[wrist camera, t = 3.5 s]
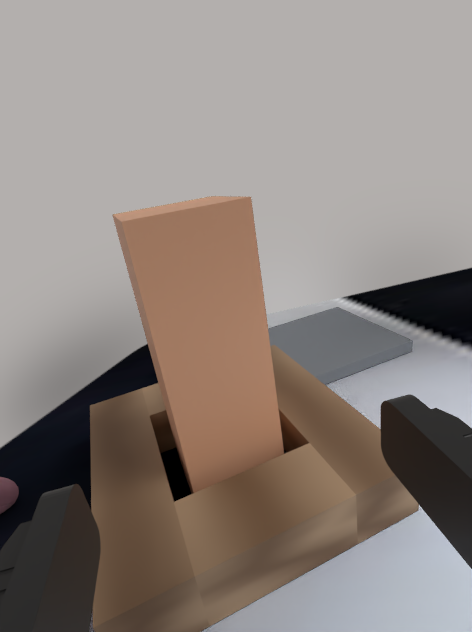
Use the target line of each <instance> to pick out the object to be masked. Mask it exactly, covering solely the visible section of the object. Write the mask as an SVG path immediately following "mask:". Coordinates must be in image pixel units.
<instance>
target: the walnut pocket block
mask: <svg viewBox="0 0 472 632" xmlns="http://www.w3.org/2000/svg"><path fill="white" fill-rule="evenodd" d="M270 348H271V355H272V363H273V371H274V378H275V386H276V394H277V401H278V409H279V417H280V425H281V432H282V440H283V448H284V450H285V451H286V452H287V453H285V454H283V455H281V456H278V457H276V458H274V459H271V460H269V461H267V462H265V463H262V464H260V465H258V466H255V467H253V468H251V469H248V470H246V471H244V472H242V473H239V474H237V475H235V476H232V477H230V478H228V479H225V480H223V481H221V482H219V483H216V484H214V485H212V486H209V487H207V488H205V489H202V490H200V491H198V492H196V493H193V494H191V495H189V496H186V497H184V498H182V499H179V500H177V501H175V502H174V499H173V495H172V492H171V488H170V485H169V481H168V478H167V474H166V471H165V467H164V464H163V460H162V457H161V453H163V452H165V451H168V450H171V449H173V448H176V445H175V441H174V437H173V434H172V430H171V426H170V423H169V419H168V415H167V412H166V408H165V404H164V401H163V397H162V393H161V390H160V386H159V383H157V384H154V385H151V386H148V387H145V388H142V389H139V390H136V391H133V392H130V393H127V394H124V395H121V396H118V397H115V398H112V399H109V400H106V401H103V402H100V403H96V404H93V405H90V443H91V512H92V514H93V516H94V519H95V521H96V523H97V526H98V529H99V533H100V541H101V553H100V561H99V567H98V574H97V581H96V587H95V594H94V601H93V629H94V631H95V632H201V631H202V630H204V629H206V628H208V627H210V626H211V625H213V624H215V623H217V622H219V621H220V620H222V619H224V618H226V617H227V616H229V615H231V614H233V613H235V612H236V611H238V610H240V609H242V608H244V607H245V606H247V605H249V604H251V603H253V602H254V601H256V600H258V599H260V598H262V597H263V596H265V595H267V594H269V593H271V592H272V591H274V590H276V589H278V588H280V587H281V586H283V585H285V584H287V583H289V582H290V581H292V580H294V579H296V578H298V577H299V576H301V575H303V574H305V573H307V572H308V571H310V570H312V569H314V568H316V567H317V566H319V565H321V564H323V563H325V562H326V561H328V560H330V559H332V558H334V557H335V556H337V555H339V554H341V553H343V552H344V551H346V550H348V549H350V548H352V547H353V546H355V545H357V544H359V543H360V542H362V541H364V540H366V539H368V538H369V537H371V536H373V535H375V534H377V533H378V532H380V531H382V530H384V529H386V528H387V527H389V526H391V525H393V524H395V523H396V522H398V521H400V520H402V519H404V518H405V517H407V516H409V515H411V514H413V513H414V512H416V511H418V508H419V504H418V502H417V501H416V500H415V499H414V498H413V496H412V495H411V494H410V493H409V491H408V490H407V489H406V488H405V487H404V485H403V484H402V483H401V482H400V480H399V479H398V478H397V477H396V476H395V474H394V473H393V472H392V471H391V469H390V468H389V466H388V465H387V463H386V461H385V459H384V456H383V454H382V450H381V429H379V428H378V427H377V426H376V425H374V424H373V423H372V422H371V421H369V420H368V419H367V418H366V417H364V416H363V415H362V414H361V413H359V412H358V411H357V410H356V409H354V408H353V407H352V406H351V405H349V404H348V403H347V402H346V401H344V400H343V399H342V398H341V397H339V396H338V395H337V394H336V393H334V392H333V391H332V390H331V389H329V388H328V387H327V386H326V385H324V384H323V383H322V382H321V381H319V380H318V379H317V378H316V377H314V376H313V375H312V374H311V373H309V372H308V371H307V370H306V369H304V368H303V367H302V366H301V365H299V364H298V363H297V362H296V361H294V360H293V359H292V358H291V357H289V356H288V355H287V354H286V353H284V352H283V351H282V350H281V349H279V348H278V347H277V346H276V345H272V346H270Z"/></svg>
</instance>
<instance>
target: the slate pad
mask: <svg viewBox="0 0 472 632" xmlns="http://www.w3.org/2000/svg"><path fill="white" fill-rule="evenodd" d="M268 332H269V340H270V346H272V345H276V346H277V347H278V348H279V349H281V350H282V351H283V352H284V353H286V354H287V355H288V356H289V357H291V358H292V359H293V360H294V361H296V362H297V363H298V364H299V365H301V366H302V367H303V368H304V369H306V370H307V371H308V372H309V373H311V374H312V375H313V376H314V377H316V378H317V379H318V380H319V381H321V382H322V383H323V384H324V385H326V384H328V383H331V382H333V381H336V380H339V379H341V378H344V377H346V376H349V375H352V374H354V373H357V372H359V371H362V370H365V369H367V368H370V367H372V366H375V365H378V364H380V363H383V362H385V361H388V360H391V359H393V358H396V357H398V356H401V355H404V354H406V353H409V352H411V351H412V340H410V339H408V338H406V337H403V336H401V335H399V334H397V333H394V332H392V331H390V330H388V329H385V328H383V327H381V326H379V325H377V324H374V323H372V322H370V321H368V320H365V319H363V318H361V317H359V316H356V315H354V314H352V313H350V312H348V311H345V310H343V309H341V308H339V307H336V308H333V309H329V310H326V311H323V312H320V313H317V314H314V315H310V316H307V317H304V318H301V319H298V320H294V321H291V322H288V323H285V324H282V325H278V326H275V327H272V328H269V329H268Z"/></svg>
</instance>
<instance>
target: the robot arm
mask: <svg viewBox="0 0 472 632" xmlns="http://www.w3.org/2000/svg"><path fill="white" fill-rule="evenodd" d="M381 450H382V454H383V456H384V459H385V461H386V463H387V465H388V466H389V468H390V469H391V471H392V472H393V473H394V474H395V476H396V477H397V478H398V479H399V480H400V482H401V483H402V484H403V485H404V487H405V488H406V489H407V490H408V491H409V493H410V494H411V495H412V496H413V498H414V499H415V500H416V501H417V502H418V504H419V505H420V506H421V507H422V509H423V510H424V511H425V512H426V514H427V515H428V516H429V517H430V518H431V520H432V521H433V522H434V523H435V525H436V526H437V527H438V528H439V529H440V531H441V532H442V533H443V534H444V536H445V537H446V538H447V539H448V540H449V542H450V543H451V544H452V545H453V547H454V548H455V549H456V550H457V552H458V553H459V554H460V555H461V556H462V558H463V559H464V560H465V561H466V563H467V564H468V565H469V566H470V567H471V569H472V428H470V427H469V426H468V425H467V424H465V423H464V422H463V421H461V420H460V419H459V418H457V417H455V416H453V415H451V414H448V413H446V412H444V411H442V410H439V409H437V408H434V409H430V408H428V407H427V406H426V405H425V404H424V403H422V402H421V401H420V400H419V399H417V398H416V397H415V396H413V395H405V396H402V397H398V398H394V399H391V400H387V401H384V402H383V403H382V404H381ZM100 553H101V541H100V533H99V529H98V526H97V523H96V521H95V519H94V516H93V514H92V512H91V510H90V507H89V505H88V503H87V500H86V498H85V496H84V493H83V491H82V489H81V487H80V486H79V485H78V484H75V485H71V486H67V487H64V488H60V489H56V490H53V491H49V492H45V493H43V494H42V496H41V497H40V499H39V502H38V504H37V507H36V510H35V513H34V515H33V518H32V521H28V522H25V523H21V524H20V525H19V526H18V528H17V529H16V530H15V531H14V533H13V534H12V535H11V537H10V538H9V539H8V540H7V542H6V543H5V544H4V546H3V547H2V549H1V551H0V632H89V627H90V621H91V614H92V607H93V601H94V594H95V587H96V581H97V574H98V567H99V561H100Z"/></svg>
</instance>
